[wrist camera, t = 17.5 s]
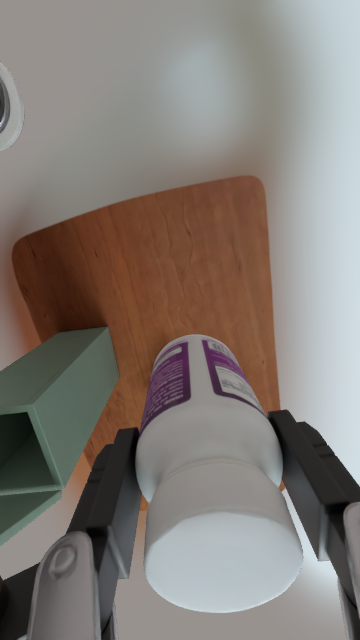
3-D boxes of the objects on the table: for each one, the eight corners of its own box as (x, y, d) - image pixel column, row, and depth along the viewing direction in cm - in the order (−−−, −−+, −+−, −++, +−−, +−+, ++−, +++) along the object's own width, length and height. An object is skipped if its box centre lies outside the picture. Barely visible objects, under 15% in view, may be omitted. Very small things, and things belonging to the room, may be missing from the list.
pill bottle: (163, 411, 16) (140, 641, 7) (144, 340, 14) (81, 509, 5) (242, 398, 15) (334, 620, 6) (232, 324, 14) (335, 473, 5)
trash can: (58, 332, 44) (-66, 414, 22) (108, 326, 43) (32, 403, 21) (73, 381, 46) (-23, 497, 25) (119, 376, 46) (64, 489, 24)
